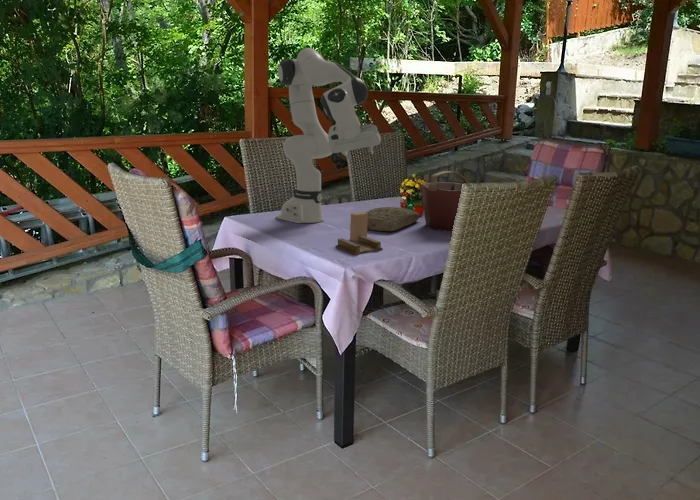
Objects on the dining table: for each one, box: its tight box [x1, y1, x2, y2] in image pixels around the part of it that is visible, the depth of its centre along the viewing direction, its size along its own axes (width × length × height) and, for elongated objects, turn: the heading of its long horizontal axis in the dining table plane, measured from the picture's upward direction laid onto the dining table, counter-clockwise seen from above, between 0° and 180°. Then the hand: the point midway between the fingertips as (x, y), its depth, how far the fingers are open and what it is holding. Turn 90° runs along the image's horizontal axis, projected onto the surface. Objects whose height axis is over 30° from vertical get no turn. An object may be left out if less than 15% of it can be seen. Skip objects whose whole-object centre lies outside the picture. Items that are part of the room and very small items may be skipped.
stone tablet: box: [365, 206, 421, 232], centre depth 287 cm, size 20×8×30 cm
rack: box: [335, 235, 383, 256], centre depth 247 cm, size 14×12×3 cm
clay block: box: [349, 211, 368, 242], centre depth 259 cm, size 6×4×11 cm, turn 126°
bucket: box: [421, 170, 469, 232], centre depth 285 cm, size 24×22×25 cm
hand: (360, 155), depth 252 cm, fingers open, 8 cm apart
